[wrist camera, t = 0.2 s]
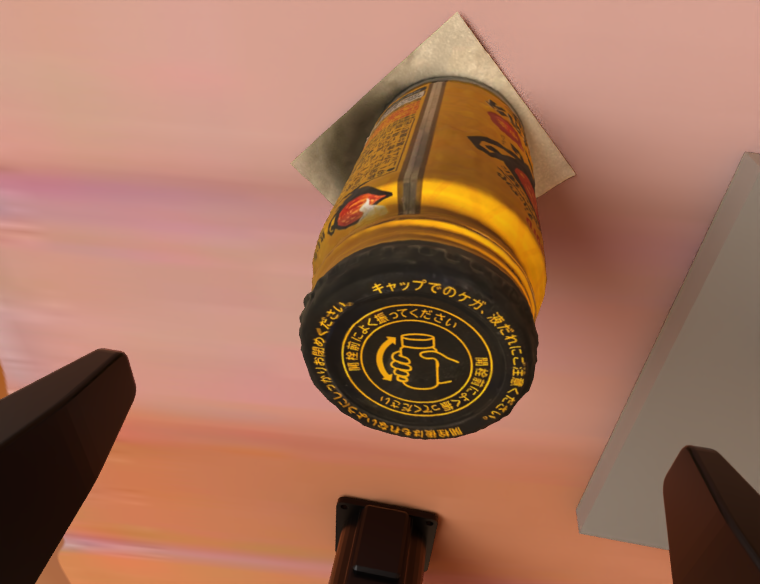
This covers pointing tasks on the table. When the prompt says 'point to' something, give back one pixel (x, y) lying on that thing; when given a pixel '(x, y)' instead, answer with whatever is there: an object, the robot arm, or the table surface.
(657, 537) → the base plate
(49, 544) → the robot arm
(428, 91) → the condiment
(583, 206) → the table surface
